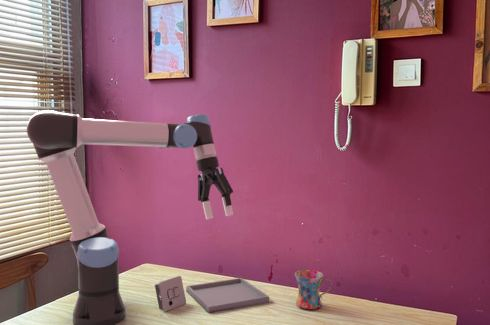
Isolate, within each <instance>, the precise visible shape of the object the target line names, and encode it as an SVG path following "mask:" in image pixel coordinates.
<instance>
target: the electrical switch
mask: <svg viewBox="0 0 490 325" xmlns="http://www.w3.org/2000/svg"><path fill="white" fill-rule="evenodd" d="M154 288H155V295H156V298H157V303H158V304H157V305H158V309H160V310H163V312H168V311H170V310H173V309H175V308H178V307H180V306H182V305H186V303H187V300H186V295H185V290H184V288H185V287H184V284H183V279H182V276H181V275H176V276H173V277H171V278H168V279H164V280H162V281H159V282H158V283H156V284H154Z"/></svg>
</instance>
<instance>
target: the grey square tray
mask: <svg viewBox="0 0 490 325" xmlns="http://www.w3.org/2000/svg"><path fill="white" fill-rule="evenodd" d="M185 287H186V293H187V294H188V295H189V296H191V298H192V299H193V300H194V301H196V302H197V303H198V304H199V305H200V307H202V308H203V310H205V311H206V312H207V314H212V313H218V312H224V311H228V310H234V309H240V308H244V307H245V308H246V307H252V306H256V305H262V304H268V303H270V296H269V295H267V294H266V293H265V292H263V291H262V290H260V289H259V288H257V287H256V286H254V285H253V284H251V283H250V282H248V281H247V280H245V279H244V278H242V277H236V278H231V279H224V280H216V281H211V282H204V283H198V284H191V285H186V286H185Z"/></svg>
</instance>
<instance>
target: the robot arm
mask: <svg viewBox="0 0 490 325" xmlns="http://www.w3.org/2000/svg"><path fill="white" fill-rule="evenodd" d="M186 120H187V121H186V122H184V123H164V122H163V123H162V122H151V121H150V122H148V121H130V120H128V121H127V120H113V119H99V118H98V119H97V118H96V119H95V118H83V117H81V116H80V114H73V113H64V112H59V111H56V110H49V109H47V110H46V109H44V110H39V111H38V112H36V113H34V114H33V115H32V116H31V117H30V119H29V120H28V122H27V125H26V133H27V136H28V139H29V140H30V142H31V143H32V145H33V148H34V150H35V152H36V155H37V157H38V159H39V160H40V161H42V162H44V163H45V164H46V166H47V169H48V172H49V174H50V177H51V180H52V183H53V185H54V188H55V190H56V192H57V196H58V199H59V201H60V203H61V206H62V210H63V211H64V212H63V213H64V214H65V217H66V219H67V222H68V225H69V227H70V231H71V235H70V237H69V241H70V244H71V247H72V250H73V253H74V254H75V257H76V261H77V272H78V274H77V282H78V296H77V299H76V302H75V306H74V309H73V311H72V322H73V324H74V325H116V324H118V323H120V322H121V321H122V320H124V319H125V317H126V306H125V304H124V301H123V298H122V296H121V293H120V279H119V278H120V277H119V276H120V274H119V273H120V272H119V255H120V250H119V245H118V242H117V241H116V240H114V239H112V238H110V236H109V233H108V230H107V228H106V226H105V225H104V224H103V223H101V222H99V220H98V218H97V217H98V216H97V215H96V212H95V209H94V206H93V204H92V201H91V198H90V195H89V192H88V189H87V186H86V183H85V182H84V178H83V175H82V173H81V170H80V167H79V166H78V162H77V160H76V157H75V151H76V150H77V149H78V148H80V146H82V145H93V146H94V145H95V146H124V147H127V146H128V147H151V148H153V147H154V148H155V147H156V148H159V149H161V150H162V149H170V148H173V149H174V148H177V149H178V148H179V149H189V148H191V147H192V148H193V152H194V158H195V160H196V166H197V171H198V172H201V173H200V174H197V185H198V186H197V200H198V202H199V201H200V202H201V203H202V208H203V212H204V216H205V220H206V221H207V220H211V219H214V214H213V210H212V205H211V200H210V198H209V197H210V196H209V195H210V192H211V191H210V190H211V186H213V185H214V186H215V187H216V189H217V191H218V192H219V193H220V195H221V201H222V205H223V210H224V215H225V217H229V216H233V215H234V214H235V213H234V211H233V205H232V199H231V194H233V193H234V191H233V188H232V186H231V184H230V183H229V181H228V179H227V176H226V175H225V172H224V168H223V167H220V165H219V164H220V163H219V160H218V156H216V155H217V152H216V146H215V142H214V138H213V132H212V126H211V124H210V123H211V122H210V120H209V116H208V115H207V114H205V113H198V114H193V115H190V116H188V117H187V119H186Z"/></svg>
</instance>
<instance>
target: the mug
mask: <svg viewBox="0 0 490 325" xmlns="http://www.w3.org/2000/svg"><path fill="white" fill-rule="evenodd" d="M294 276H295V279H296V282H297V286H298V294H297V299H296V300H295V304H296V306H297V307H299V308H300V309H304V310H316V309H319V308H321V307H322V305H323V302H322V301H321V300H322V299H323V296H325V295H326V294H327V293H329V291H330V290H331V288H332V287H333V283H332V281H331V279H328V278H325V279H324V276H325V275H324V274H323V273H322V272H321V271H318V270H313V269H302V270H297V271H295V272H294ZM324 282H329V283H330V286H329V287H328V289H327V290H326V291H325V292H322V293H320V289H321V286H322V284H323V283H324Z"/></svg>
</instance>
